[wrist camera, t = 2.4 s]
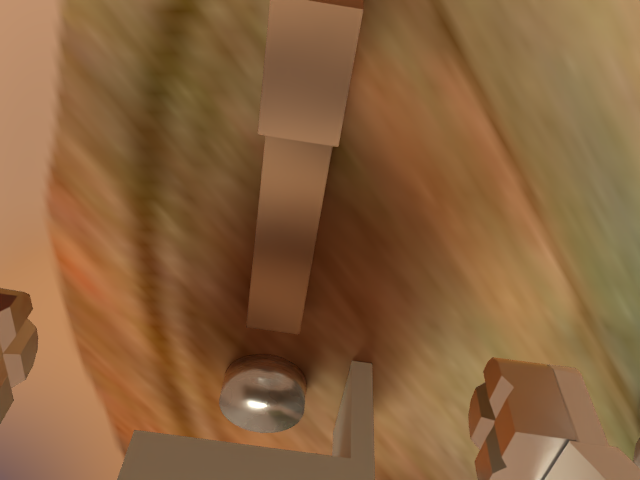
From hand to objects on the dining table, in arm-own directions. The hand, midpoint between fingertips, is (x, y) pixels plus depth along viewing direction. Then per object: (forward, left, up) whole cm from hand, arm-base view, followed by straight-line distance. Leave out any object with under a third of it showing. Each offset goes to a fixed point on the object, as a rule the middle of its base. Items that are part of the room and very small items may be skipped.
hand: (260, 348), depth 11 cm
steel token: (+16, +14, -17) cm, 28 cm away
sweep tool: (+5, +4, -17) cm, 18 cm away
